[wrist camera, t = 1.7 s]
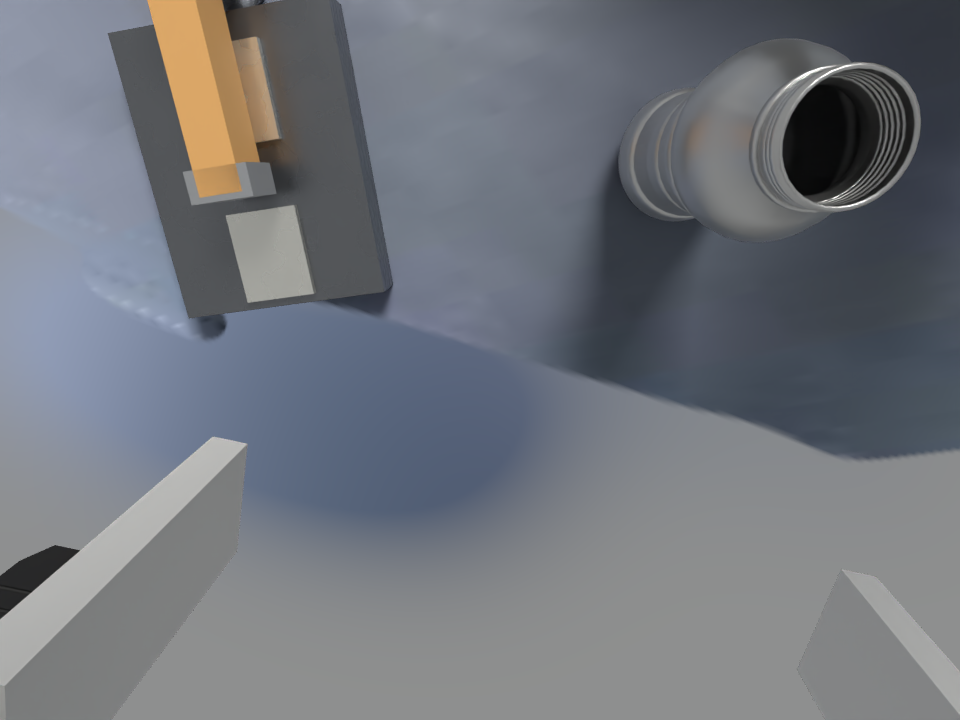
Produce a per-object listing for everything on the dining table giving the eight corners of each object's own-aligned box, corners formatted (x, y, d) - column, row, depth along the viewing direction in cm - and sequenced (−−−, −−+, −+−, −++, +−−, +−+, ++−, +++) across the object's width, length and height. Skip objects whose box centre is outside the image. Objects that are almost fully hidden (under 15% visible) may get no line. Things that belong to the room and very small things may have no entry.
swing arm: (136, -92, 30) (95, -120, 27) (215, -108, 29) (182, -139, 26) (213, 203, 33) (183, 206, 31) (283, 192, 33) (261, 194, 30)
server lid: (136, 42, 35) (103, 31, 32) (340, 4, 34) (325, -11, 31) (208, 309, 39) (185, 319, 37) (393, 284, 38) (383, 293, 35)
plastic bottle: (592, 193, 36) (673, 219, 17) (643, 74, 34) (801, -51, 15) (694, 235, 36) (888, 306, 17) (750, 118, 34) (1040, 53, 15)
